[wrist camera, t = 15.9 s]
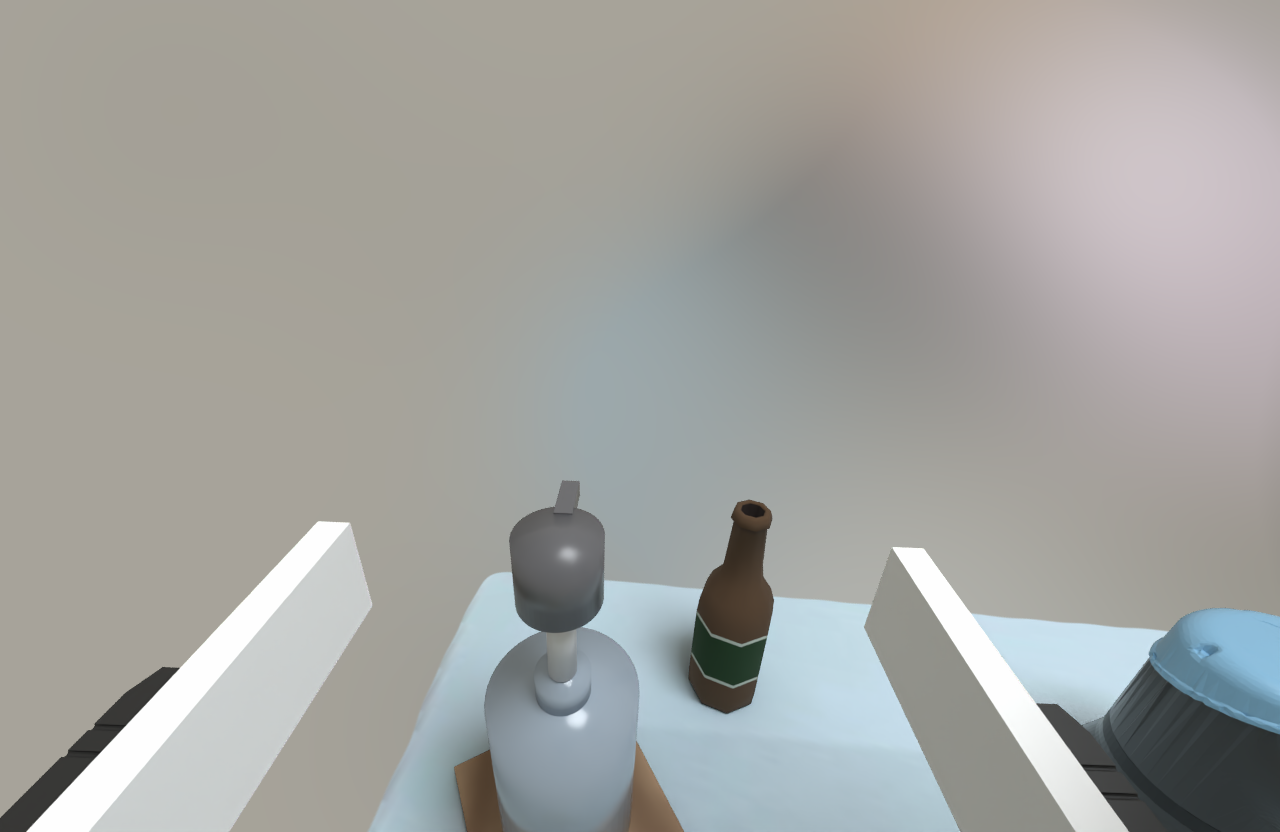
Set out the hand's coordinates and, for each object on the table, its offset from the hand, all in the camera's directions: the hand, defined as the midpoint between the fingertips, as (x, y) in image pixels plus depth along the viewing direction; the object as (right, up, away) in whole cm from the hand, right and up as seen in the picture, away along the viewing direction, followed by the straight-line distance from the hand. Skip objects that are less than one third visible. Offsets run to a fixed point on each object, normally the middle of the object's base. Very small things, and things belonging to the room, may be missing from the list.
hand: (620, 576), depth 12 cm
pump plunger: (-5, -13, +23) cm, 28 cm away
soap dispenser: (-6, -30, +31) cm, 43 cm away
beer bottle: (+10, -26, +43) cm, 52 cm away
